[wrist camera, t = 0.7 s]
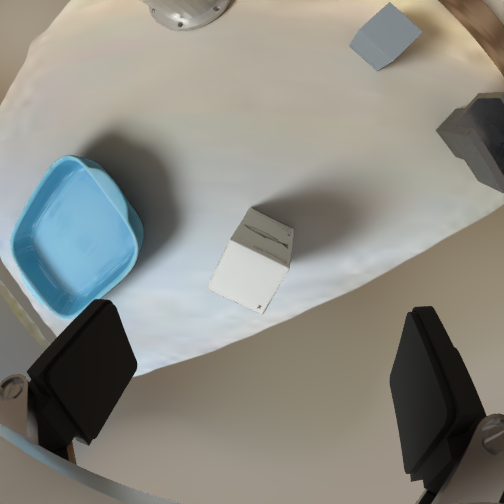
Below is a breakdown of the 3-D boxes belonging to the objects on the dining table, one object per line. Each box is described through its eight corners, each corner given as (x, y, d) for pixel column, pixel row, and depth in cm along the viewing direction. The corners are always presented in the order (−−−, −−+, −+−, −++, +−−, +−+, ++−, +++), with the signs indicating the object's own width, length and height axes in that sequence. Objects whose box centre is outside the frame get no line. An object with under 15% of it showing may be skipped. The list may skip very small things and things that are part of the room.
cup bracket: (422, 129, 34) (467, 135, 22) (454, 95, 31) (504, 92, 19) (455, 170, 35) (503, 193, 24) (485, 137, 32) (537, 149, 20)
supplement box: (296, 228, 43) (292, 269, 32) (272, 268, 47) (262, 317, 35) (249, 205, 43) (229, 238, 32) (229, 246, 46) (205, 290, 35)
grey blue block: (348, 46, 31) (358, 29, 24) (375, 21, 29) (389, 2, 22) (376, 71, 32) (393, 60, 25) (402, 46, 30) (422, 32, 22)
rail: (431, -5, 25) (444, -16, 20) (443, -16, 23) (455, -26, 18) (515, 94, 28) (533, 95, 23) (524, 82, 26) (542, 81, 22)
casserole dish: (77, 315, 60) (60, 333, 54) (21, 240, 55) (0, 253, 48) (182, 230, 47) (163, 248, 40) (102, 123, 41) (74, 127, 35)
